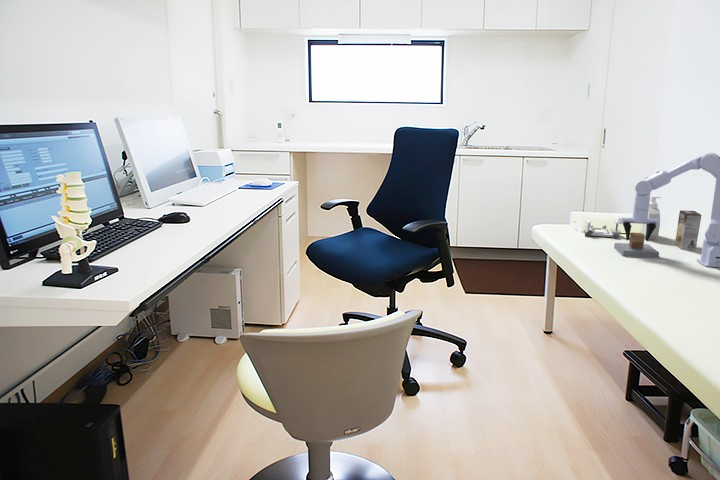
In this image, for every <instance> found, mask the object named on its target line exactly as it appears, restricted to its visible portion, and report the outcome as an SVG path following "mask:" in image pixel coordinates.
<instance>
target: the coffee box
mask: <svg viewBox="0 0 720 480" xmlns="http://www.w3.org/2000/svg"><path fill="white" fill-rule="evenodd" d="M701 221H702V214H701V213H699V212H697V211H695V210H679V214H678V221H677V228H676V235H675V239H674V240H675V242H674V245H675V246H676V247H678V249H681V250H685V251H686V250H687V251H690V250H691V251H696V250H697V247H698V246H697V244H698V238H699V233H700V228H701V227H700V226H701Z"/></svg>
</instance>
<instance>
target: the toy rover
mask: <svg viewBox="0 0 720 480" xmlns="http://www.w3.org/2000/svg"><path fill="white" fill-rule="evenodd" d="M622 218H625V217H622ZM585 224H586V226H584V227H585V230H584V231H585V232H584V236H585V237H587V238H590V237H592V236H594V237H609V238H612V239H616V240H618V239H620V236H622V231H621V230H620V229H618V227H619V225H621V224H622V223H621V217H620V216H618V217H617V218H616V221H615V223H614V224H615V230H612V228H610V229H611V231H608V229H607V225H603V227H602V228H601V227H600V228H599V227H594V226H593V223H592V222H591V221H590V220H589V219H588V218H587V219H585ZM590 229H592V230H590Z"/></svg>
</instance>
